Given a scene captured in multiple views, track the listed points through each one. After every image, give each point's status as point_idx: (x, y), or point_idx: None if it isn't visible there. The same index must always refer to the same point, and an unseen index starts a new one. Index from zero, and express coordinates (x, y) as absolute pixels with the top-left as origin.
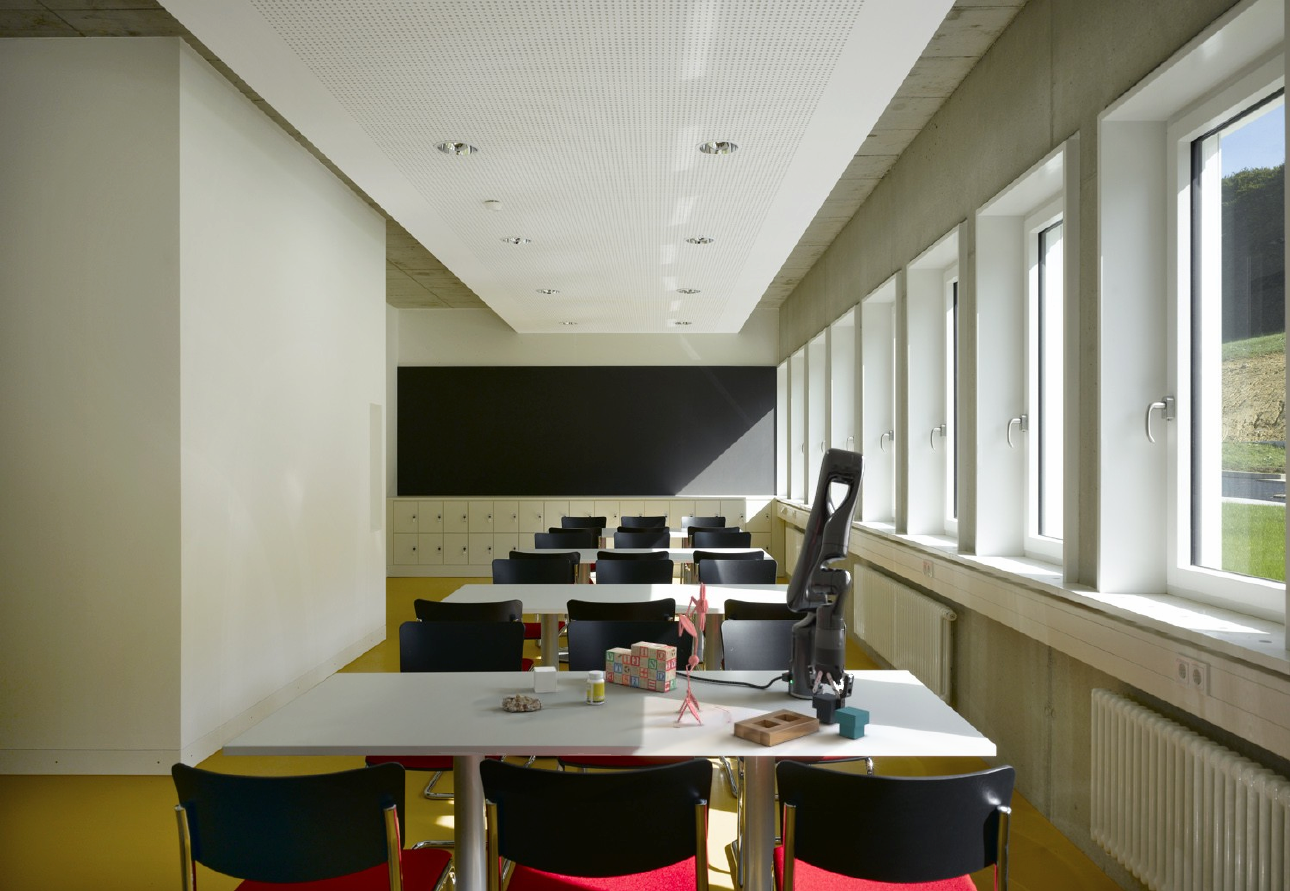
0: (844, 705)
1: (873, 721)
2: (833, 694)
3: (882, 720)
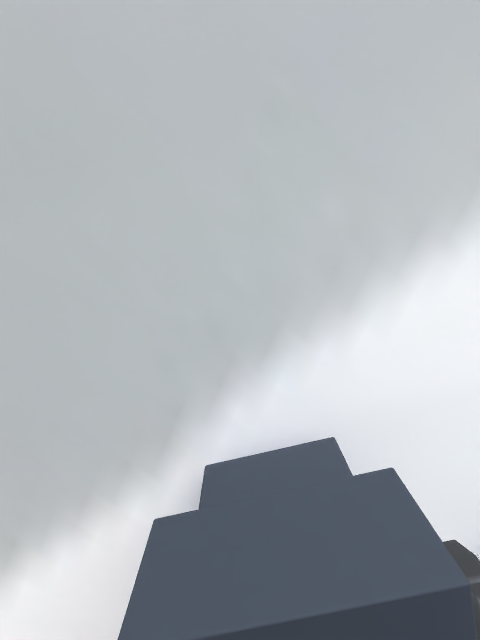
0: (415, 506)
1: (440, 149)
2: (250, 631)
3: (463, 35)
